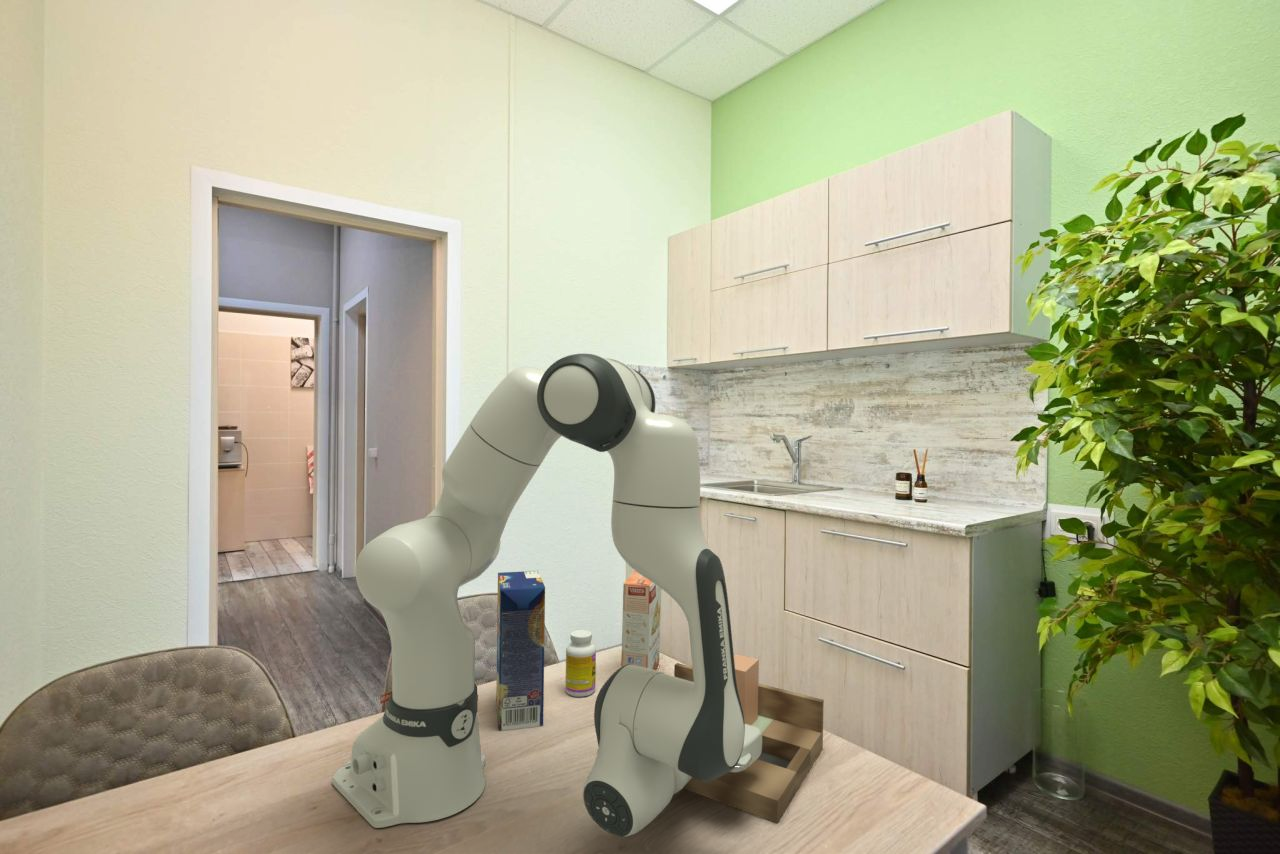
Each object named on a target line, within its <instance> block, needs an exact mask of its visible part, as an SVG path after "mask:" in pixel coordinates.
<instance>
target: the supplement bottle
mask: <svg viewBox="0 0 1280 854" xmlns="http://www.w3.org/2000/svg"><path fill="white" fill-rule="evenodd" d="M592 635H593V633H592V632H591V631H590V630H586V629H577V630H574V631H571V633H570V641H571V642H570V643H569V644H568V645H567V646H566V648H565V682H564V683H565V685H564V686H565V692H566V693H567V694H568V695H570V696H572V697H578V698H581V697H587V696H591V695H592V694H593V693H595V691H596V683H597V682H596V681H597V680H596V677H597V676H596V672H597V670H596V669H597V662H596V661H597V648H596V646H595V644H594V643H592V642H591V641H592V638H593V636H592Z"/></svg>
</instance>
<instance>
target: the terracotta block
mask: <svg viewBox="0 0 1280 854" xmlns="http://www.w3.org/2000/svg"><path fill="white" fill-rule="evenodd" d="M759 661H760V660H759V658H755V657H749V656H745V655H741V654H736V653H734V663H735V673H736V682H737V688H738V693H739V697H740V702H741V706H742V710H743V715H744V723H745V724H748V725H751V726H752V724H753V723H754V722H755V721H756V720H757V719H758V683H759V676H760V675H759V674H760V672H759V670H760V663H759Z"/></svg>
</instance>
